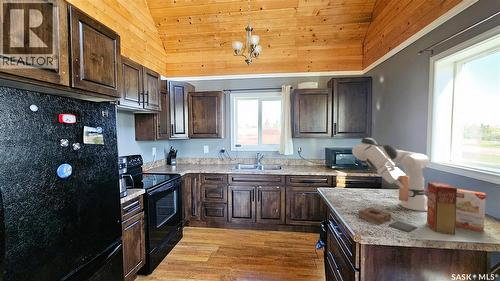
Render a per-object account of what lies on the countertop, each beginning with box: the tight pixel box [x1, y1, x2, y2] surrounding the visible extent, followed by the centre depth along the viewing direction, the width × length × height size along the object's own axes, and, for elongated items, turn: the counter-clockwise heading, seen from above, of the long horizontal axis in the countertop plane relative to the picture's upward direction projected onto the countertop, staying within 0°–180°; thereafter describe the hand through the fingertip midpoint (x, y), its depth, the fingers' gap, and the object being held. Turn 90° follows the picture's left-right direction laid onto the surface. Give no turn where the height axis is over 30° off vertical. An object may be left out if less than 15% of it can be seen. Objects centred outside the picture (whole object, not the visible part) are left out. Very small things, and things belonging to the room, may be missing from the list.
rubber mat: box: [388, 220, 418, 233], centre depth 126 cm, size 10×10×1 cm
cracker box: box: [456, 188, 487, 233], centre depth 127 cm, size 14×6×21 cm, turn 45°
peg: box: [398, 175, 409, 202], centre depth 126 cm, size 4×4×14 cm
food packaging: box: [426, 181, 458, 236], centre depth 124 cm, size 13×9×25 cm
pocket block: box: [358, 207, 392, 225], centre depth 138 cm, size 13×13×4 cm
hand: (405, 186), depth 125 cm, fingers closed on peg, 4 cm apart
